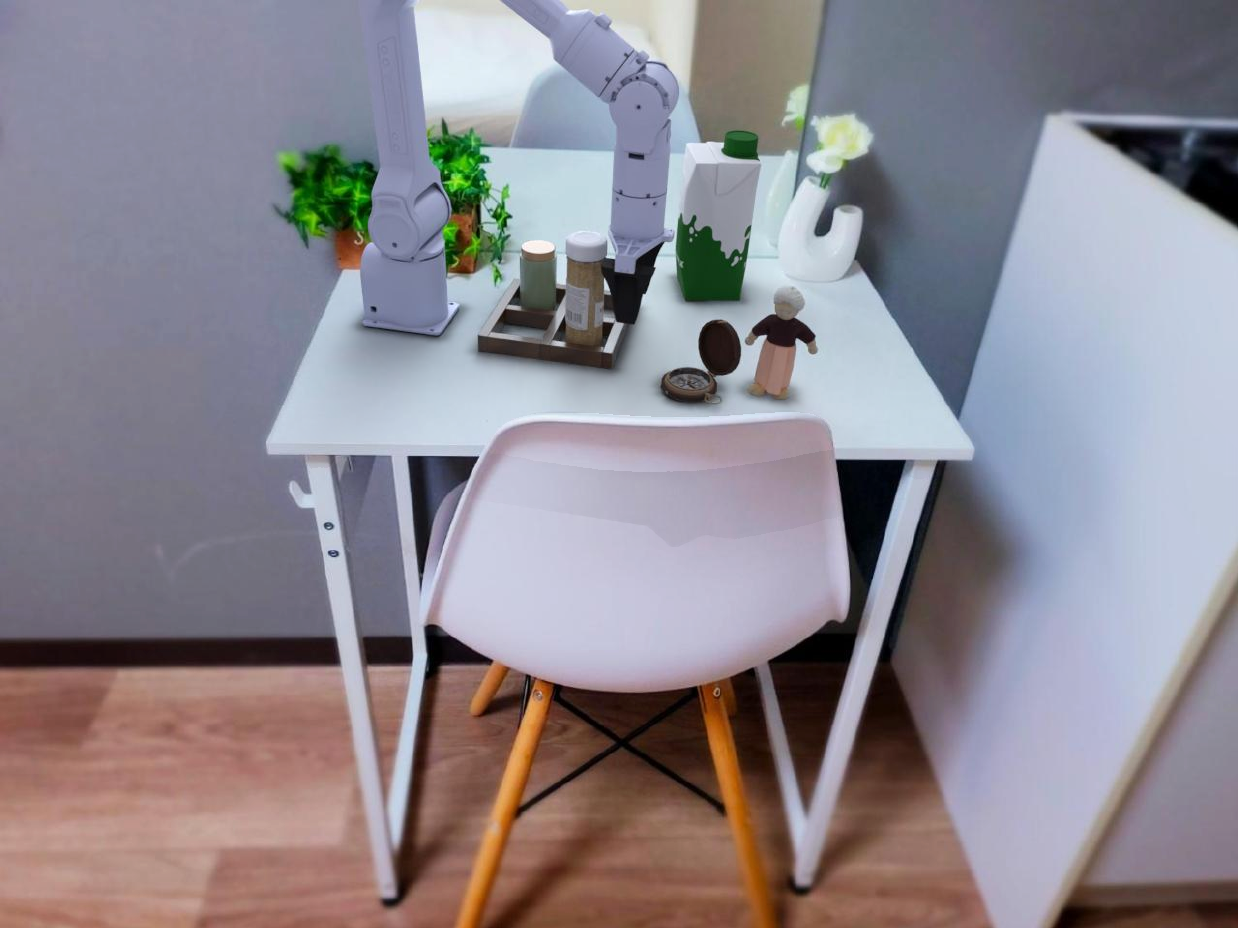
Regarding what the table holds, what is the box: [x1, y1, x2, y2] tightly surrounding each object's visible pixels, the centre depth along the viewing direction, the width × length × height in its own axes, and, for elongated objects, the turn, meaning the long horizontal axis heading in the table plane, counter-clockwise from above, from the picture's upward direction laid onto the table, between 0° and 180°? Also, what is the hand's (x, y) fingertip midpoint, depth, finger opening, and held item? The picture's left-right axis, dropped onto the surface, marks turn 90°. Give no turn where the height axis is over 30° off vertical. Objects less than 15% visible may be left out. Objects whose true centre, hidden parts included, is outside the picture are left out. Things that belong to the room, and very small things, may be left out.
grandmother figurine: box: [744, 285, 819, 400], centre depth 104 cm, size 8×4×13 cm, turn 87°
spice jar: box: [519, 239, 558, 311], centre depth 119 cm, size 4×4×8 cm
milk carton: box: [675, 130, 762, 301], centre depth 123 cm, size 9×9×20 cm
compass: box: [660, 318, 742, 405], centre depth 105 cm, size 8×8×7 cm
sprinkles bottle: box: [564, 230, 608, 347], centre depth 110 cm, size 5×5×13 cm
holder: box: [477, 278, 630, 370], centre depth 117 cm, size 16×16×2 cm
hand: (631, 306), depth 110 cm, fingers open, 7 cm apart
